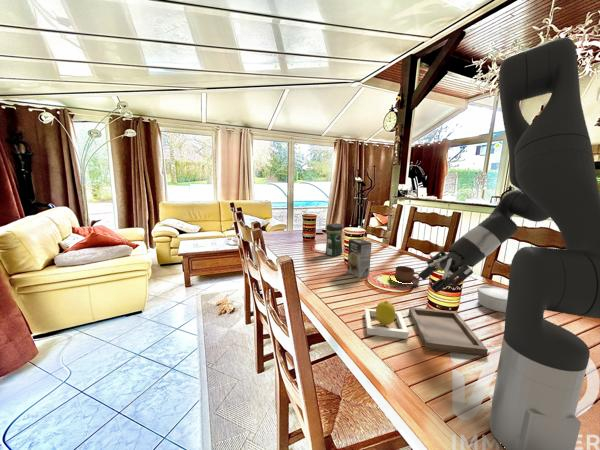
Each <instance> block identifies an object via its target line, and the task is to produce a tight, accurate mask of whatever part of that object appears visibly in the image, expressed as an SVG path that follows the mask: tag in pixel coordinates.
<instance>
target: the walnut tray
mask: <svg viewBox="0 0 600 450" xmlns="http://www.w3.org/2000/svg"><path fill="white" fill-rule="evenodd" d="M408 314H409V317H410V319H411V320H412V323H413V325H414V326H415V327H414V328H415V329H416V331H417V334H418V335H419V338H420V339H421V342H422V344H423V346H424V348H425V350H429V351H437V352H445V353H451V354H452V353H453V354H454V353H455V354H460V355H462V354H463V355H469V356H477V357H478V356H479V357H488V351H489V349H488V348H487V347H486V345H485V344H484V343H483V342H482V341H481V340H480V339H479V337H478V335H476V334H475V332H474V331H473V330H472V329H471V327H470V326H469V325H468V324H467V323H466V322H465V320H464V319H463V317H461V316H460V315H459V313H458V312H457V311H455V310H454V311H453V310H441V309H430V308H421V307H411V306H409V307H408Z"/></svg>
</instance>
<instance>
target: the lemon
mask: <svg viewBox="0 0 600 450" xmlns="http://www.w3.org/2000/svg"><path fill="white" fill-rule="evenodd" d="M375 309H376V317H375V318H376V320H377V322H378V323H380V324H381V325H382V326H383V327H386V326H390V325H392V324H393V323H394V321H395V320H396V319H395V311H396V310H395V306H394V305H393V303H391V302H389V301H388V300H383V301H380V302H379V303H378V304H377V306H376V308H375Z"/></svg>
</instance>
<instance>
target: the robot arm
mask: <svg viewBox="0 0 600 450" xmlns="http://www.w3.org/2000/svg"><path fill="white" fill-rule="evenodd" d="M580 90H581V89H580V75H579V62H578V51H577V47H576V44H575V43H574V41H573V40H572V39H571V38H570V37H560V38H556V39H553V40H550V41H546V42H544V43H541V44H538V45H536V46H533V47H530V48H527V49H525V50H522V51H519V52H516V53H514V54H512V55H509V56H507V57H506V58H504V59H503V61H502V62H501V64H500V67H499V72H498V92H499V93H498V94H499V100H500V109H501V115H502V121H503V126H504V133H505V137H506V141H507V147H508V148H507V149H508V158H509V160H508V163H509V165H508V166H509V170H508V171H509V182H510V183H511V185H512V186H514V187H515V188H514V189H511V190H509V191H508V192H507V193H505V195H504V196H503V197H502V198H501V199H500V201H499V203H498V204H497V205H496V207H494V209H493V211H492V212H491V213H490V214H489V215H488V216H487V217H486V218H485V219H484V220H483V221H481V222H480V223H479V224H477V225H476V226H475V227H474V228H472V229H470V230H469V231H467V232H466V233H465V234H463V235H462V236H461V237H460V238H458V239H457V240H456V241H455V242H453V243H452V244H451V245H449V250H450V251H449V252H448V253H447V252H445V251H444V250H440V251H439V252H438V253H436V254H435V255H434V256H433V257H431V258H430V259H428V260H427V261H426V263H427V267H426V268H424V269H423V270H422V271H421V272H418V273H419V275H418V277H419V276H420V279H422V280H423V281H425V280H426V279H428V278H429V277H431V275H433V274H434V272H435V273H436V272H438V271H441V272H444V273H443V275H442V277H440V278H439V279H438V280H436V281H435V282H433V284H431V285H430V288H431V290H432V291H433V292H434V293H437V294H438V292H441V291H442V290H443V289H444V288H446V287H447V286H453V287H454V288H455V287H456V288H457V287H458V285H460V284H461V283H462V282H464V281H465V280H466V279H468V278H469V277H470V276H471V275H472V274H474V271H473V269H471V268H474V267H475V266H476V265H478V264H479V263H480V262H481V261H483V260H485V258H487V257H488V256H489V255H491V254H492V253H494V252H495V250H496V249H497V248H499V246H500V245H502V244H503V243H504V242H506V241H508V240H509V239H510V238H511V237H513V235H515V234H516V233H517V232H518V230H519V228H518V225H517V224H516V222H515V221H514V220H512V217H513V216H518V217H520V218H523V219H525V220H528V221H531V222H535V223H540V222H543V221H547V220H548V219H551V220H552V221H553V222H554V223H555V225H556V226H557V229H558V230H559V232H560V234H561V236H562V239H563V241H564V245H565V248H557V247H555V248H553V247H541V246H523V247H521V248H519V249H518V250H517V251H516V252H515V253H514V255H513V258H512V260H511V264H510V268H509V277H508V288H507V290H508V298H507V306H506V312H504V314H505V315H504V329H503V330H504V331H503V338H502V342H501V350H500V352H499V357H498V358H499V360H498V363H497V364H498V366H497V371H496V377H495V381H494V383H495V384H494V388H493V393H492V400H491V408H490V411H489V412H490V414H489V418H488V427H489V430H490V432H491V434H492V436H493V435H494V436H493V438H494V439H495V438H496V439H497V440H498V441H497V440H496V439H495V440H496V441H497V443H498V444H499V443H501V444H502V446H504V447H505V448H506V450H575V449H576V445H577V442H578V438H579V434H580V430H581V426H582V423H581V420H580V419H578V418H577V416H576V412H577V408H578V405H579V400H580V396H581V391H582V387H583V384H584V379H585V375H586V371H587V368H588V365H589V362H590V357H591V354H590V353H591V351H590V348H589V346H588V345H587V343H586V342H585V341H584V340H583V339H581V338H580V337H579V335H578V336H577V335H576V334H574V332H571V331H570V330H568V329H566V328H564V327H562V326H560V325H558V324H556V323H553V322H551V321H549V320H547V319H545V318H544V314H545V311H547V312H554V313H559V314H567V315H571V316H577V317H584V318H590V319H598V320H600V188H599V183H598V179H597V177H598V176H597V173H596V164H595V157H594V153H593V147H592V141H591V138H590V134H589V131H588V127H587V124H586V123H587V122H586V119H585V115H584V110H583V105H582V99H581V91H580ZM547 94H551V95H550V96H549V99H548V101H547V103H546V104H545V105H544V107H543V108H542V110H541V112H540V113H539V114H538V115H537V117H535V118H534V120H533V121H532V122H531V123H530V124H529V122H528V121H527V120H526V118H525V117H524V115H523V113H522V110H521V107H520V102H521V101H525V100H528V99H533V98H536V97H540V96H543V95H547ZM502 446H501V447H502Z"/></svg>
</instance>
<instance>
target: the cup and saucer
mask: <svg viewBox="0 0 600 450" xmlns="http://www.w3.org/2000/svg"><path fill="white" fill-rule="evenodd" d="M394 271H395V273H392V274H390V275H389V276H388V277H389V278H388V279H389V280H390V281H393V280H391V279H390V276H391V275H395V278H396V280H397V281H399V282H402V283H411V282H412V283H413V284H402V283H398V282H395V281H393V283H394V282H395V283H394V284H396V283H397V284H396V285H400V286H403V285H404V287H414V286H417V285H418V284H420V279H421V277H420V276H419V273H420V272H415V269H414V268H412V267H409V266H405V265H404V266H403V265H398V266H396V267H395V270H394ZM415 275H418V277H417V276H415Z"/></svg>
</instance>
